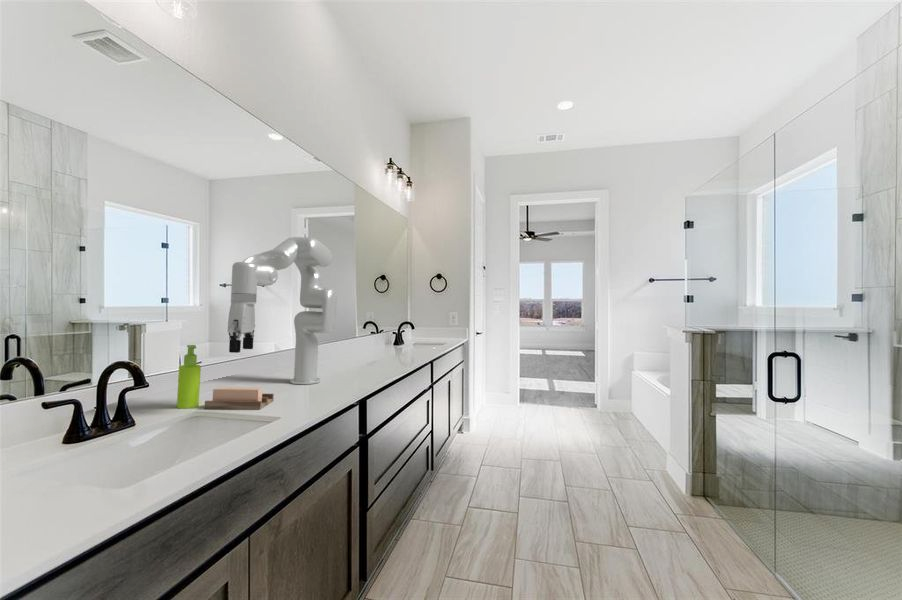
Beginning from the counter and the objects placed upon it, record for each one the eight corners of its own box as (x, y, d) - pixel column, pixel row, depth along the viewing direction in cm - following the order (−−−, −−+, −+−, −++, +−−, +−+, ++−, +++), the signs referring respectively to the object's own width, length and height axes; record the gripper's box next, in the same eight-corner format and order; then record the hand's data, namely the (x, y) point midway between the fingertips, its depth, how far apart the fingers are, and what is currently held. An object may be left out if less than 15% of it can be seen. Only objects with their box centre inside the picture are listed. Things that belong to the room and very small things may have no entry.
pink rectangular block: (217, 402, 127) (218, 387, 127) (261, 402, 128) (262, 387, 128) (212, 404, 123) (213, 389, 124) (257, 405, 125) (258, 389, 125)
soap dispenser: (178, 410, 119) (181, 346, 120) (175, 405, 125) (179, 344, 125) (200, 407, 123) (203, 345, 124) (197, 403, 128) (200, 343, 129)
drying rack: (222, 400, 134) (223, 393, 134) (273, 400, 135) (273, 393, 135) (204, 409, 122) (204, 401, 122) (260, 409, 123) (260, 401, 123)
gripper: (243, 299, 136) (241, 347, 135) (218, 298, 118) (216, 353, 118) (265, 300, 136) (263, 348, 136) (244, 299, 119) (241, 354, 119)
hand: (241, 350), depth 127 cm, fingers open, 9 cm apart
